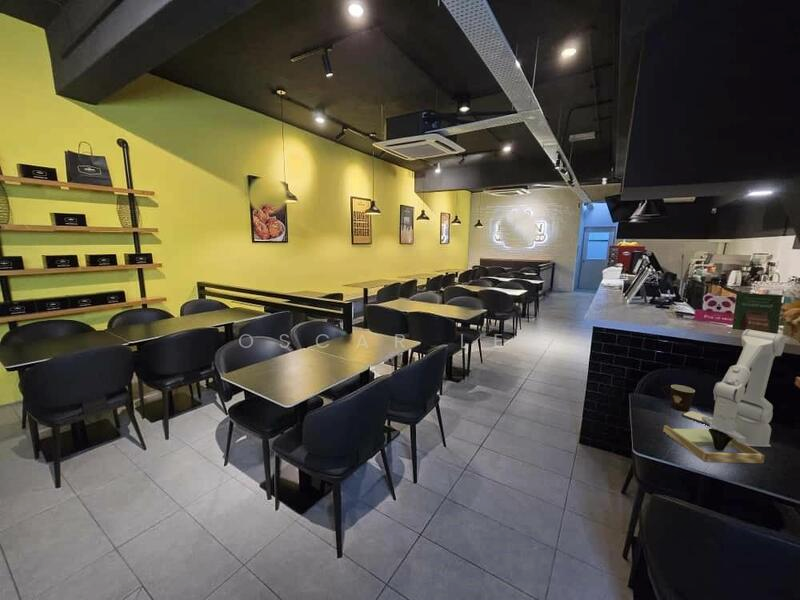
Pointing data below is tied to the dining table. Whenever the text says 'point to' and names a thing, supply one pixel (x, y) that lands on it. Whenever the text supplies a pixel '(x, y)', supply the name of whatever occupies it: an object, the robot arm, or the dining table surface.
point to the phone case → (695, 417)
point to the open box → (745, 457)
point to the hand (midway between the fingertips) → (718, 449)
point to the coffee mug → (680, 397)
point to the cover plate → (698, 436)
